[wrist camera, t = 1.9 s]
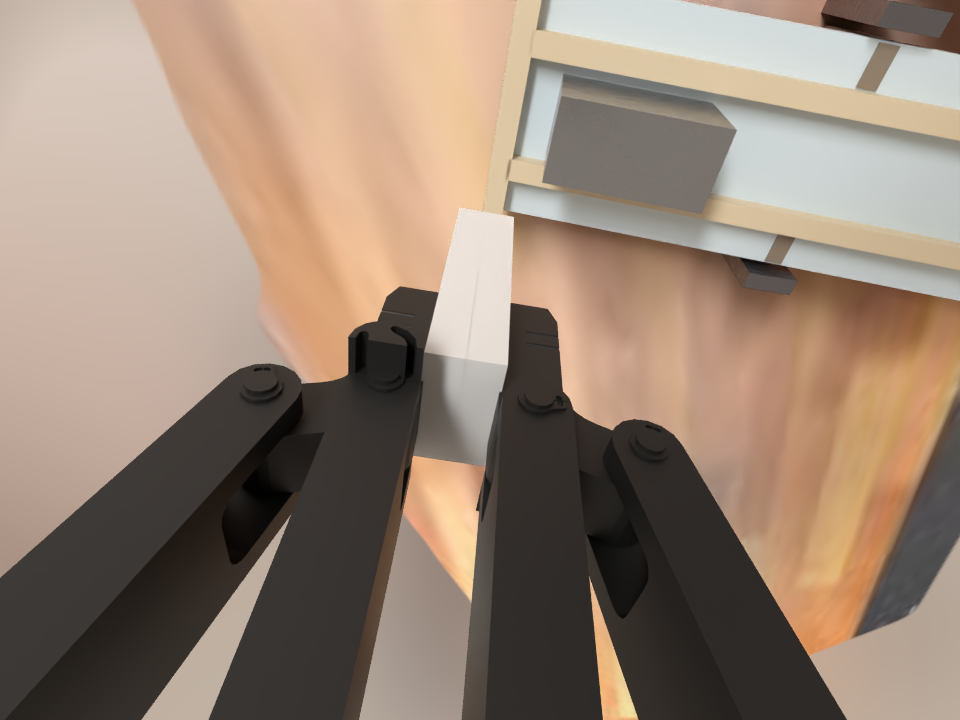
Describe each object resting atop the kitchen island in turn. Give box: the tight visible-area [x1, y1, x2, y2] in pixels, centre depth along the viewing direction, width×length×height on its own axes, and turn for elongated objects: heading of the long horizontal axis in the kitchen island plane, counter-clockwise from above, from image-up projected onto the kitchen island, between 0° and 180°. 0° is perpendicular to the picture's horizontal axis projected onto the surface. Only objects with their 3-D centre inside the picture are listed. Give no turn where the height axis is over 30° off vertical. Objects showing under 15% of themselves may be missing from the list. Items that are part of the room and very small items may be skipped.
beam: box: [482, 0, 960, 301], centre depth 30 cm, size 12×36×2 cm, turn 81°
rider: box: [542, 74, 737, 214], centre depth 28 cm, size 4×8×6 cm, turn 81°
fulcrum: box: [722, 0, 954, 295], centre depth 32 cm, size 15×3×6 cm, turn 171°
